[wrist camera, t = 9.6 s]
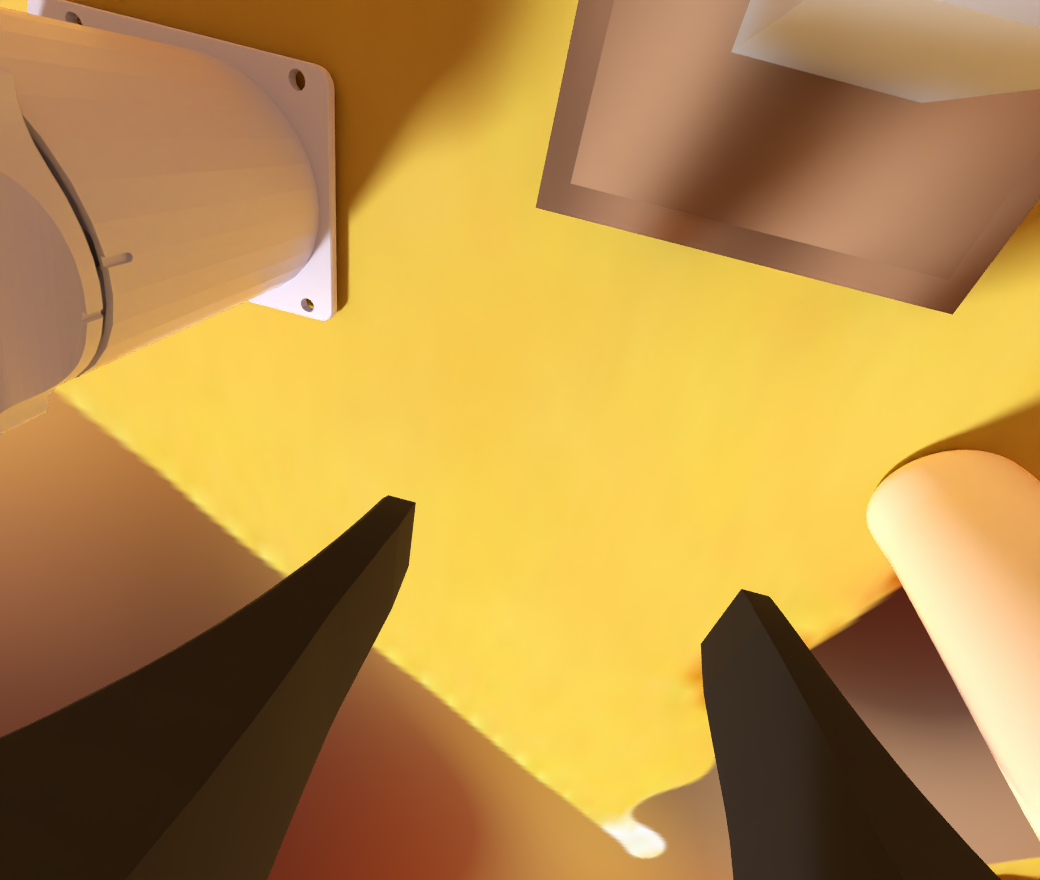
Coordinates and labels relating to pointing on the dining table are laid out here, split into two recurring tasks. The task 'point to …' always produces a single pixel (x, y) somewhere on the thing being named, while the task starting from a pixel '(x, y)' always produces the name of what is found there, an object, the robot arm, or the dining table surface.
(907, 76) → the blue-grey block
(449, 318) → the dining table surface
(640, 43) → the walnut plinth
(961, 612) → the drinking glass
